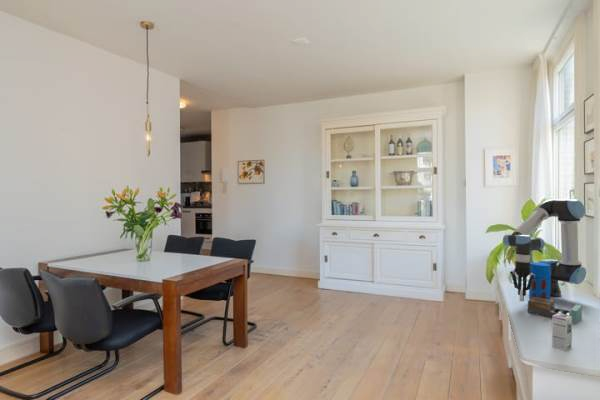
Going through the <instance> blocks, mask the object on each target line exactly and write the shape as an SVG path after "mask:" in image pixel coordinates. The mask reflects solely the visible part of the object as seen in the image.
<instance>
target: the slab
mask: <svg viewBox="0 0 600 400" xmlns="http://www.w3.org/2000/svg"><path fill="white" fill-rule="evenodd" d="M527 308H532V309H536V310H541V311H546V312H549V311H550V310H552V309H553V308H555V300H554V299H550V300H549V299H544V298H539V297H533V298H531V299H530V300H529V299H528V300H527Z"/></svg>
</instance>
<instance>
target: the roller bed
mask: <svg viewBox="0 0 600 400" xmlns="http://www.w3.org/2000/svg"><path fill="white" fill-rule="evenodd" d="M527 308H528V307H527ZM527 313H528V314H531V315H536V316H540V317H544V318H545V317H546V318H549V319H552V316H553V315H555V314H557V313H561V314H566V315H569V316H571V310H568V309H563V308H558V307H554V308H553V309H552V310H550V311H549V312H546V311H541V310H536V309H532V308H528V309H527Z"/></svg>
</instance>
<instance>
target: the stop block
mask: <svg viewBox="0 0 600 400" xmlns="http://www.w3.org/2000/svg"><path fill="white" fill-rule="evenodd" d="M582 306H583V305H580V304H575V305H574V306H573V307H572V308H570V311H571V316H572V324H574V325H577V324H578V323H579V322H580V321H581V319H582V314H583V313H582V312H583V311H582V310H583V309H582V308H583V307H582Z"/></svg>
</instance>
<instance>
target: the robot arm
mask: <svg viewBox="0 0 600 400" xmlns="http://www.w3.org/2000/svg"><path fill="white" fill-rule="evenodd" d="M585 213H586V209H585V206H584V204H583V203H582V201H581V200H578V199H573V198H572V199H571V198H567V199H566V198H563V199H562V198H561V199H560V198H551V199H548V200H545V201H544V202H543V201H542V202H541V203H540V204H538V205H537V206H536V207H534V209H533V211H532V213H531V214H530V215H529V216H528V217H527V218H526V220H524V221H523V222H522V223H521V224H520V225H519V226H518V227H517V228H516V229H515V230H514V231H513V232H512V233H511V234H509V233H508V234H505V235H504V236H503V239H502V243H503V244H504V246H506V247H509V248H515V262H514V264H515V266H514V267H515V268H514V270H511V271H509V273H510V276H511V278H512V282H513V286H514V289H517V295H519V302H524V301H525V296H527V291H529V289H530V287H531V284H532V280H533V278H534V277H535V274H532V273H531V271H530V263H531V253H532V252H531V251H539V250H542V249H544V247H545V245H546V244H545V243H546V242H545V240H544V239H543V238H542V237H537V236H534V237H531V234H532V232H534V230H535V229H537V227H538V226H539V225H541V224H542V222H544V221H545V220H548V219H549V218H551V217H552V218H553V217H554V218H557V221H558V222H559V223H560V238H561V239H560V242H561V259H560V260H559V259H549V258H547V259H540V260H538V261H537V263H546V264H550V265H551V283H550V297H561V296H562V290H561V287H560V285H559V282H564V283H568V284H572V285H580V284H582V283H583V282H584V280H585V279H586V277H587V269H586V267H584V266H582V262H581V261H580V260H579V236H578V234H579V232H578V223H580V222H581V219H582V218H584V217H585ZM516 275H517V276H516ZM528 276H529V279H528V281H527V278H528ZM527 282H528V283H527Z"/></svg>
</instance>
